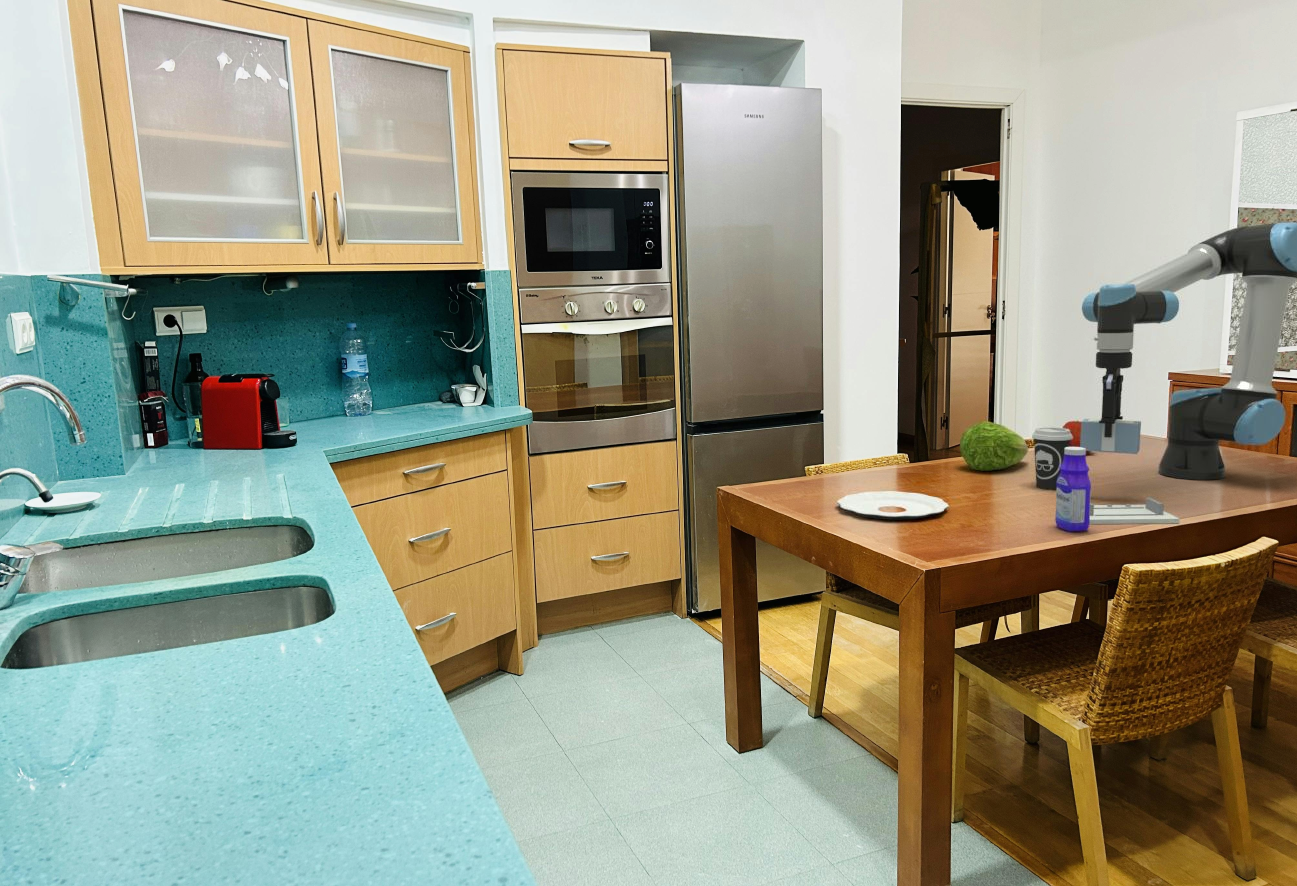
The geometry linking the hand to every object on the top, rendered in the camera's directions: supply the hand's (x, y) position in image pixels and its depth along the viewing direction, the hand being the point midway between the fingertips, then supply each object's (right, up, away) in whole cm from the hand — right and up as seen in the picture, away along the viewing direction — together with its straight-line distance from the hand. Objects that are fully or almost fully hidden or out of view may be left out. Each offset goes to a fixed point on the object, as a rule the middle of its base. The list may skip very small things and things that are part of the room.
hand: (1109, 448), depth 209 cm
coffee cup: (-6, -10, +17) cm, 21 cm away
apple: (+21, -2, +61) cm, 65 cm away
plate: (-52, -15, -1) cm, 54 cm away
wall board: (-5, -15, -14) cm, 21 cm away
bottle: (-20, -17, -22) cm, 35 cm away
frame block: (0, -1, 0) cm, 0 cm away
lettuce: (-9, -6, +44) cm, 45 cm away
